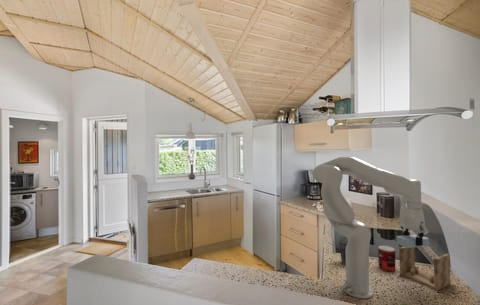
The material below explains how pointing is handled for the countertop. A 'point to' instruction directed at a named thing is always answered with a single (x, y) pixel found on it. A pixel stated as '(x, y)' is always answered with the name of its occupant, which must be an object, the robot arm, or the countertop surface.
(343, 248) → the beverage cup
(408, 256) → the peg shelf
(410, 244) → the light blue block
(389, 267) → the canned food
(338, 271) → the countertop surface
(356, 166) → the robot arm
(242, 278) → the countertop surface
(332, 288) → the countertop surface
